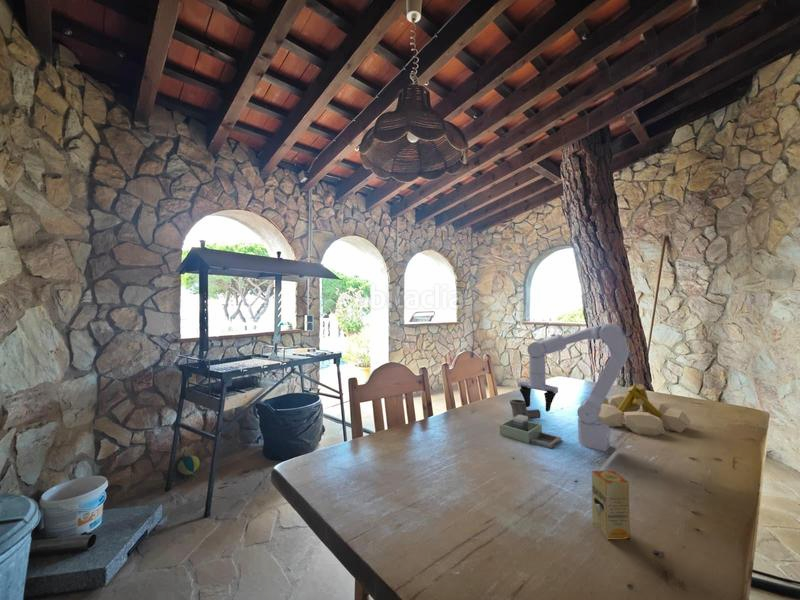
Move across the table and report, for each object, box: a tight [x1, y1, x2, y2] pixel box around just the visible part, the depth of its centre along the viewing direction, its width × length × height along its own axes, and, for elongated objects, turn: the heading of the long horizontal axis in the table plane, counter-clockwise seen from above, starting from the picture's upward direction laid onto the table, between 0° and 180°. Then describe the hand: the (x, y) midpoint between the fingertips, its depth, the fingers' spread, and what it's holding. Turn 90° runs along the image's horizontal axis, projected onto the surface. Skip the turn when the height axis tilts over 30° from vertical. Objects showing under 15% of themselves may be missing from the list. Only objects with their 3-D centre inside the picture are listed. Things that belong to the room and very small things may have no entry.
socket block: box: [528, 431, 563, 450], centre depth 118 cm, size 10×10×2 cm
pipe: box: [509, 399, 542, 420], centre depth 144 cm, size 6×13×8 cm, turn 88°
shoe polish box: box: [591, 470, 631, 539], centre depth 72 cm, size 5×5×12 cm
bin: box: [499, 417, 543, 444], centre depth 125 cm, size 11×11×5 cm
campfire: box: [598, 382, 691, 437], centre depth 141 cm, size 35×34×17 cm
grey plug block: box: [512, 415, 529, 432], centre depth 124 cm, size 4×5×7 cm
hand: (537, 408), depth 126 cm, fingers open, 7 cm apart
